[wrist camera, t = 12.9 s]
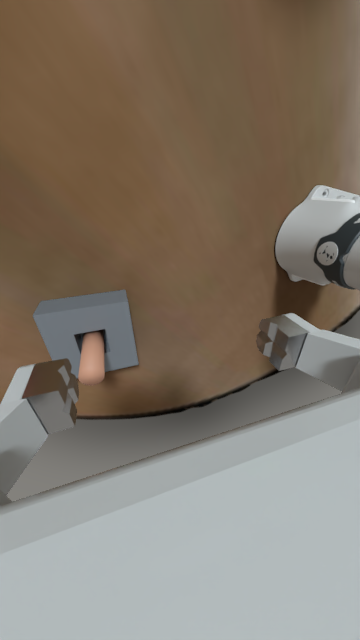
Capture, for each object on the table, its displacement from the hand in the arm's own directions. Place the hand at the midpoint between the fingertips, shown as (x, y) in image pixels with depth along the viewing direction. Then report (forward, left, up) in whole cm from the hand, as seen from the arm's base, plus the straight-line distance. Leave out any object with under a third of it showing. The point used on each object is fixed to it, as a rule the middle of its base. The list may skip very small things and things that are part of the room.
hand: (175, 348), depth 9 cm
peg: (+8, +17, -30) cm, 35 cm away
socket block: (+8, +17, -31) cm, 36 cm away
